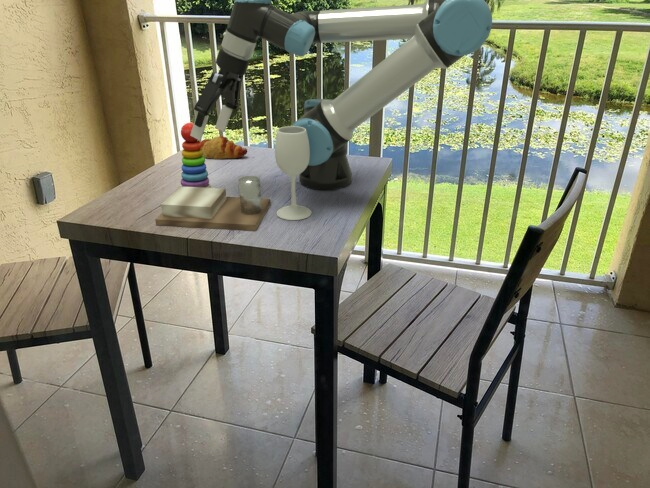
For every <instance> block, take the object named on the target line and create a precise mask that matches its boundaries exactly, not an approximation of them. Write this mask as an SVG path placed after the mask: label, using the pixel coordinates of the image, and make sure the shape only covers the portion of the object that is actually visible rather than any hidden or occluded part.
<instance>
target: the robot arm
mask: <svg viewBox="0 0 650 488" xmlns="http://www.w3.org/2000/svg"><path fill="white" fill-rule="evenodd" d="M492 26H493V14H492V10H491V8H490V7H489V4H488V3H487V2H486V1H485V0H425V1H424V3H419V4H405V5H404V4H403V5H389V6H371V7H370V6H369V7H358V8H357V7H356V8H342V9H324V10H310V11H309V10H299V11H297V12H293V13H289V12H286V11H284V10H282V9H280V8H277V7H276V6H274V5H273V4H272V0H234V3H233V6H232V9H231V13H230V16H229V20H228V23H227V26H226V29H225V31H224V32H223V33H222V36H223V39H222V41H221V48H220V49H219V50H218V53H217V57H216V59H215V64H216V65H217V67H219V70H218V72H214V71H212V72H211V73H210V76H209V79H208V82H207V83H206V85H205V87H204V89H202V90H203V91H202V92H201V94H200V96H199V98H198V100H197V101H196V103H195V105H194V107H193V110H194V111H195V112H196V116H195V119H194V122H193V123H194V125H193V128H192V131H191V134H190V136H192V137H194V138H196V139H198V141H202V138H203V135H204V132H205V130H206V127H207V123H208V120H209V117H210V116H209V113H210V112H211V110H212V109H213V107H214V106H215V104H216V103H217V102H218V100H219V98H220V97H221V96H224V104H222V106H221V108H220V112H219V115H218V118H217V120H216V123H215V125H214V126H215V129H217V130H219V131H221V132H222V133H225V132H226V130H227V126H228V124H229V121H230V118H231V115H232V112H233V110H235V111H237V109H238V106H239V102H240V94H241V88H242V83H243V79H244V76H245V75H246V73H247V70H248V68H249V65H250V59H251V58H252V57H253V54H254V51H255V48H256V45H257V42H258V40H259V38H260V39H262V40H265V41H267V42H269V43H271V44H273V45H274V46H276V47H279V48H280V49H282V50H285V51H286V52H287V53H288V54H291V55H295V56H297V57H300V58H302V57H304V56H306V55H307V53H308V52H309V50H310V48H311V47H312V44H322V43H325V44H326V43H344V42H345V43H346V42H349V43H350V42H368V41H369V42H370V41H391V40H393V41H394V40H395V41H396V40H407V41H405V42H404V43H403V44H402V45H400V46H399V47H398V48H397V49H395V50H394V51H392V53H390V54H389V55H388V56H386V58H384V59H383V60H382V61H380V62H379V63H378V64H377V65H376V66H374V67H373V68H372V69H371V70H369V71H367V73H366V74H364V75H363V76H362V77H360V78H359V79H357V81H356V82H354V83H353V84H352V85H350V86H349V87H348V88H347V89H345V90H344V91H343V92H341V93H340V94H339V95H338V96H337V97H335V98H334V99H328V98H313V99H312V98H311V99H306V100H305V101H304V107H303V110H304V111H303V112H304V114H303V115H302V116H301V117H300V118H299V119H298V120H296V121H294V122H293V123H292V124H291V126H298V127H303V128H305V129H306V131H307V135H308V140H309V147H310V159H309V163H308V166H307V167H306V169H305V170H304V171H303V172H302V173H300V174H299V175H298V176H299V177H298V178H299V179H298V181H299V184H300V185H302V186H303V187H305V188H309V189H313V190H319V191H320V190H321V191H322V190H323V191H328V190H329V191H331V190H340V189H343V188H345V187H348V186H350V185H352V179H353V177H352V176H353V175H352V174H353V172H352V170H351V167H350V163H349V161H348V157H347V143H348V142H349V141H351V140H352V139H353V135H354V130H355V129H357V128H358V127H359V126H361V125H362V124H364V123H365V122H366V121H367V120H368V119H370V118H371V117H373V116H374V115H376V114H377V113H378V112H380V110H383V109H384V107H386V106H387V105H388V104H390V103H392V102H393V101H394V100H396V99H397V98H398V97H399V96H401V95H402V94H404V93H405V92H406V91H407V90H409V89H410V88H411V87H413V86H414V85H415V84H417V83H418V82H420V81H421V80H422V79H424V78H425V77H427V76H428V75H429V74H430V73H431V72H433V71H434V70H436V69H444V70H446V69H448V68H450V67H451V66H453V65H454V64H455V63H456V62H458V61H460V60H461V59H462V58H463V57H465V56H467V55H470V54H473V53H475V52H476V51H477V50H479V49H480V48H481V47H482V46H483V45H484V44H485V43H486V41H487V40H488V37H489V36H490V35H491V30H492Z"/></svg>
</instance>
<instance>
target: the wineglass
mask: <svg viewBox="0 0 650 488" xmlns="http://www.w3.org/2000/svg"><path fill="white" fill-rule="evenodd" d="M274 143H275V144H274V156H275V157H274V158H275V163H276V165H277V167H278V168H279V170H280V171H281V172H282V173H283V174H285V175H287V176H288V178H289V179H290V186H291V187H290V188H291V189H290V190H291V192H290V193H291V196H290V197H291V198H290V199H291V200H290V205H285V206H282V207H280V208H279V209H278V210H277V211H276V216H277V217H278V218H280V219H282V220H285V221H286V220H287V221H299V220H305V219H306V218H307V219H308V218H309V217H310V216H311V215H312V210H311V209H310V208H308V207H306V206H304V205H299V204H297V197H296V196H297V194H296V180H297V177H298V176H299V174H300V173H302V172H303V171H304V170H305V169H306V167H307V166H308V163H309V159H310V147H309V140H308V135H307V131H306V129H305V128H303V127H298V126H292V125H289V126H281V127H279V128H278V129H277V131H276V135H275V142H274Z"/></svg>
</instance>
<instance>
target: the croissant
mask: <svg viewBox="0 0 650 488" xmlns="http://www.w3.org/2000/svg"><path fill="white" fill-rule="evenodd" d="M200 142H201V143H202V147H201V148H200V149H202V150H203V155H202V156H204V158H205V159H214V160H223V159H237V158H242V157H244V156H245V155H247V154H248V149H247V148H245V147H243V146H241V145H238V144H236V143H235V142H234V141H232V140H229V139H228V138H227V137H226V136H222V135H219V136H215V137H213V138H207V139H203V140H200Z"/></svg>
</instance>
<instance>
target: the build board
mask: <svg viewBox="0 0 650 488" xmlns="http://www.w3.org/2000/svg"><path fill="white" fill-rule="evenodd" d="M271 205H272V203H271V198H263V197H261V209H262V211H261V212H260V213H258V214H253V215H247V214H243V213H242V212H241V206H240V196H239V197H238V196H227V190H226V188H220V187H211V188H203V187H183V186H182V185H180V186H179V187H177V189H175V190H174V191H173V192H172V193H171V194H170V196H168V197H167V198H166V199H165V200H164V201H163V202H162V203H161V204H160V208H161V213H160V214H159V215H158V216H157V217H156V218H155V226H166V227H181V228H184V227H185V228H201V229H219V230H233V231H234V230H235V231H251V232H253V231H254V232H257V230H258V228H259V226H260V224H261V223H262V221H263V219H264V217H265V215H266V213H267V211H268V210H269V207H270V206H271Z"/></svg>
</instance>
